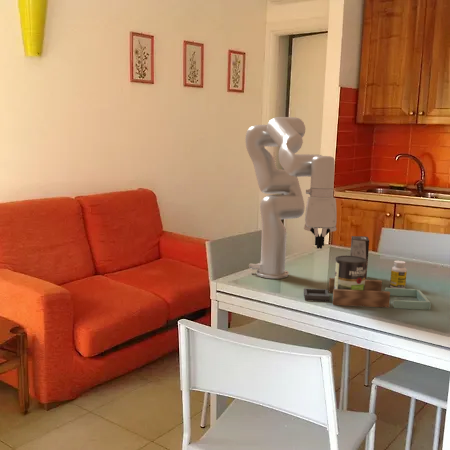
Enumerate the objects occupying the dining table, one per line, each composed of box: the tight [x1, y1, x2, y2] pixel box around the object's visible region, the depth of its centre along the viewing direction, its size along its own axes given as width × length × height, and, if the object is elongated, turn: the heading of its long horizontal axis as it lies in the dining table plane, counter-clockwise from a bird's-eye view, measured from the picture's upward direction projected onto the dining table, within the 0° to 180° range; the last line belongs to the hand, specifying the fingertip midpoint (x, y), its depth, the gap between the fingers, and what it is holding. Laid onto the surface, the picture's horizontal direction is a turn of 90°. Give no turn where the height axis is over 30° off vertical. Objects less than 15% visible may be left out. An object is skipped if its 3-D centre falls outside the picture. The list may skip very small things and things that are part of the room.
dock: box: [384, 287, 431, 311], centre depth 185 cm, size 12×15×2 cm
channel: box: [328, 277, 391, 309], centre depth 186 cm, size 18×15×5 cm
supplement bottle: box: [389, 260, 408, 289], centre depth 201 cm, size 5×5×10 cm
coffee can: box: [334, 255, 367, 290], centre depth 186 cm, size 10×10×14 cm
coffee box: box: [349, 235, 370, 280], centre depth 211 cm, size 9×6×16 cm
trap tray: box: [303, 287, 330, 302], centre depth 188 cm, size 8×8×2 cm
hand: (319, 247), depth 184 cm, fingers closed
